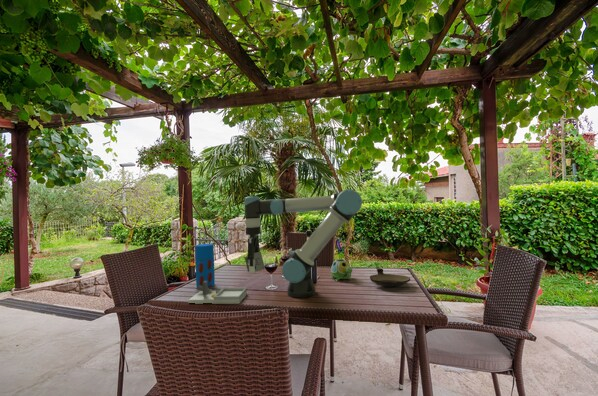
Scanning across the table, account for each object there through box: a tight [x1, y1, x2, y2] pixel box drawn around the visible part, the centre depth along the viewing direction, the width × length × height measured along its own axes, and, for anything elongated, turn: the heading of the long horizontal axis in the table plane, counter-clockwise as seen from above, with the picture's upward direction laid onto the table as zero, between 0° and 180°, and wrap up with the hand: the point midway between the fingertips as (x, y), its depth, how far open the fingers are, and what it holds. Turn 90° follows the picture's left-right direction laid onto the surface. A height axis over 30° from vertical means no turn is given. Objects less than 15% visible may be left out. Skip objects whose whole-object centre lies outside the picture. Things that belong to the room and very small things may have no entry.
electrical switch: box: [244, 251, 266, 273], centre depth 152 cm, size 9×5×9 cm, turn 141°
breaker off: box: [196, 285, 213, 293], centre depth 160 cm, size 1×3×8 cm
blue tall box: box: [194, 243, 216, 289], centre depth 182 cm, size 11×11×25 cm
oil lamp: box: [369, 265, 411, 288], centre depth 173 cm, size 22×30×8 cm
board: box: [188, 287, 248, 305], centre depth 156 cm, size 26×15×4 cm, turn 85°
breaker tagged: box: [202, 281, 208, 297], centre depth 154 cm, size 1×3×8 cm, turn 175°
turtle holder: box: [330, 258, 353, 282], centre depth 186 cm, size 12×18×12 cm
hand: (254, 270), depth 152 cm, fingers closed on electrical switch, 10 cm apart
